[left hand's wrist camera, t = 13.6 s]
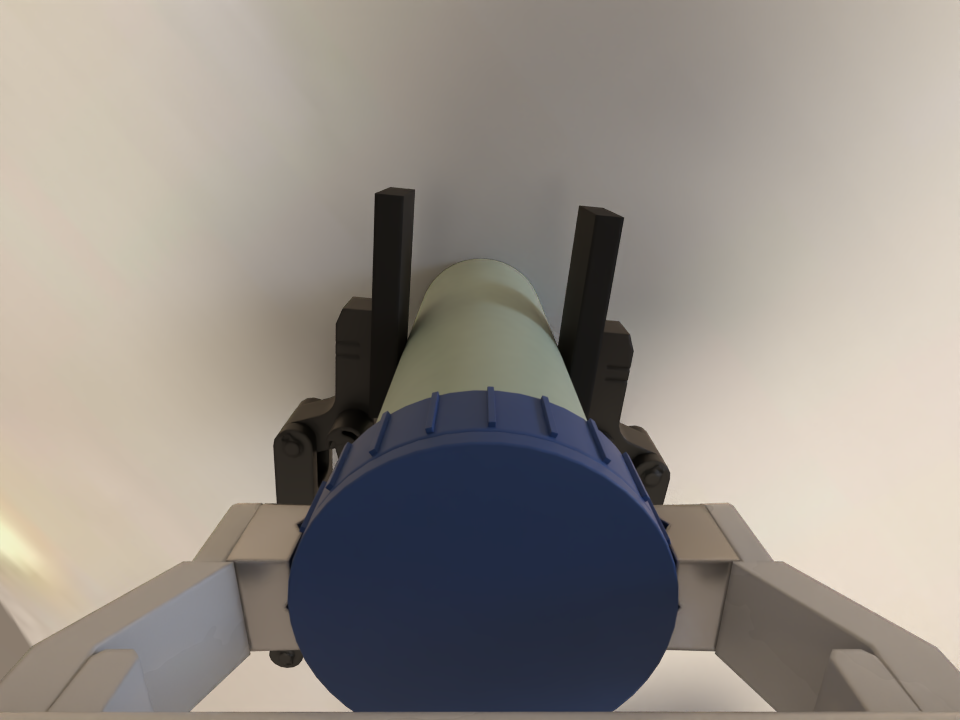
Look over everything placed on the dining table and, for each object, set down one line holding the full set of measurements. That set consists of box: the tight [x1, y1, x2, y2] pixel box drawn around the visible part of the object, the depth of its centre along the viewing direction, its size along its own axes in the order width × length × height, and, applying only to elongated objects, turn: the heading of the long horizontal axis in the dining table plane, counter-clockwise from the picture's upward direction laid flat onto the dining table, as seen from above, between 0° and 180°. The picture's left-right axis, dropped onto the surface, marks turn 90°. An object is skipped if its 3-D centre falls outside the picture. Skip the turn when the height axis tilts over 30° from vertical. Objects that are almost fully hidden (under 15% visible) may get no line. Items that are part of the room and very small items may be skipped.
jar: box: [376, 259, 587, 423], centre depth 16 cm, size 5×5×16 cm
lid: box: [288, 386, 679, 712], centre depth 9 cm, size 6×6×2 cm
